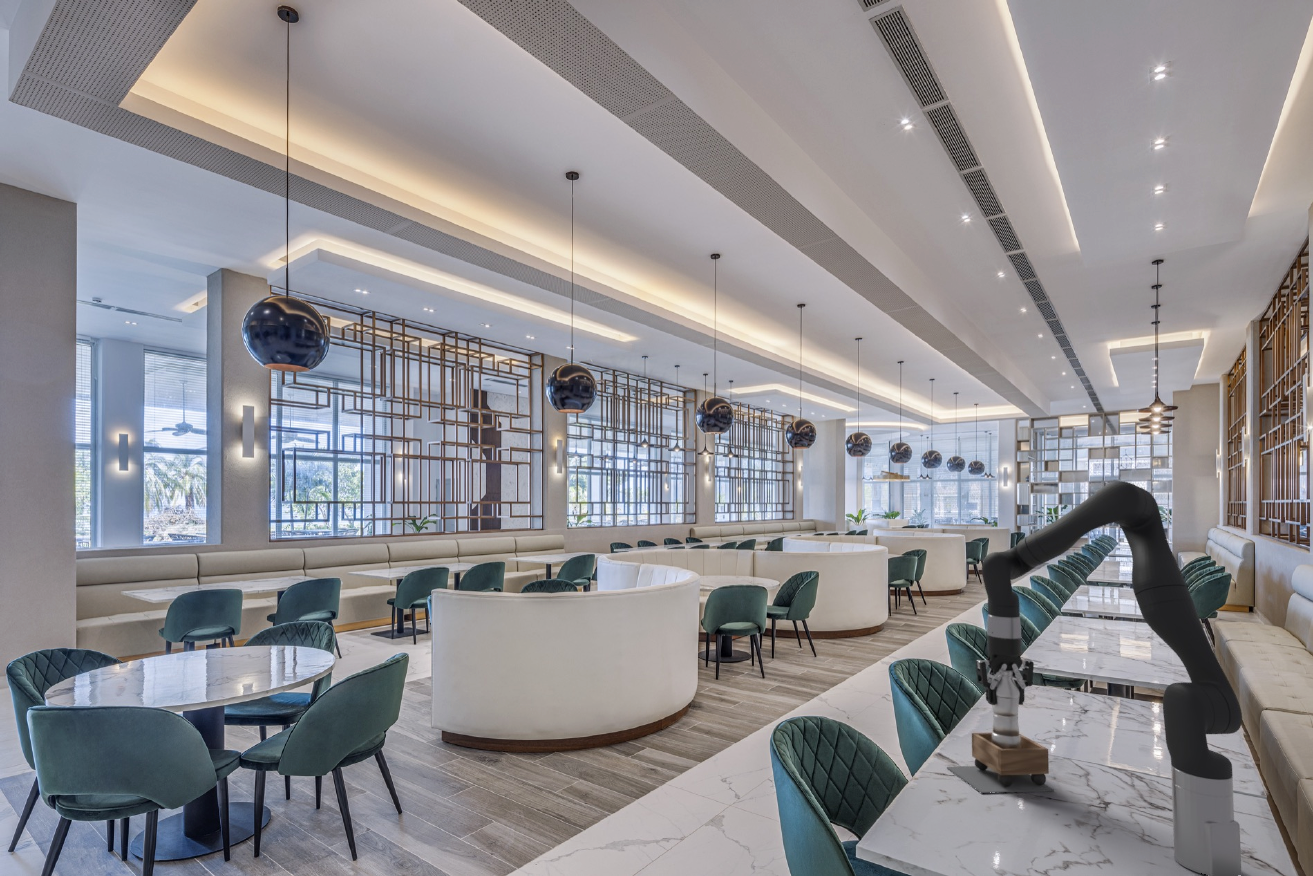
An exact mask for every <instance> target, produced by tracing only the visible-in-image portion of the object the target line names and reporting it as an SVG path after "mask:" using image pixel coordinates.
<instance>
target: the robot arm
mask: <svg viewBox="0 0 1313 876" xmlns="http://www.w3.org/2000/svg"><path fill="white" fill-rule="evenodd" d="M1162 520H1163V519H1162V516H1161V513H1160V508H1159V505H1158V502H1157V501H1156V498H1155V497H1154V496H1153V495H1152V493H1150V492H1149V491H1148V490H1146V489H1144V488H1143V487H1141V486H1138V485H1136V484H1134V483H1131V482H1129V481H1124V480H1117V481H1113V482H1109V483H1108V484H1106V485H1104V486H1103V487H1102V488H1099V489H1098V490H1097V491H1096V492H1095V493H1093V494H1092V495H1090V496H1089V497H1088V498H1087V499H1085V500H1084V501H1083V502H1082V503H1080V504H1079V505H1077V506H1075V507H1074V508H1073V509H1072V510H1070V511H1069V512H1067V513H1066V514H1064V515H1063V516H1062V517H1060V518H1058V519H1056V520H1055V521H1053V522H1052V523H1050V524H1048V525H1047V526H1045V527H1043V528H1041V529H1039V530H1037V531H1035V532H1033V533H1031V534H1029V535H1027V536H1025V537H1024V538H1022V539H1020V540H1019V541H1018V543H1017V545H1015V546H1013V547H1011V548H1009V549H1007V550H1004V551H998V552H997V551H995V552H991V553H989V554H987V555H985V557H984V558H983V561H982V564H981V575H982V579H983V583H984V584H983V585H984V589H985V592H986V595H987V621H986V635H987V636H986V641H987V644H986V645H987V649H986V650H987V653H988V657H987V658H986V659H984V660H983V659H982V660H981V659H976V660H975V671H976V681H977V684H978V685H979V686H982V687H985V700H986V702H987V703H988V704H989V705H991V706H992V705H995V704H996V697H995V689H994V688H995V686H996V684H997V682H999V681H1000V679H1001V677H1002V675H1003V673H1004V671H1011V670H1013V676H1014V678H1012V680H1013V681H1014V683H1015V684H1016V686H1017V687H1018V689H1019V692H1020V697H1019V705H1020V706H1021V705H1024V702H1025V689H1026V688H1027V687H1032V686H1033V683H1034V665H1035V664H1034V662H1033V661H1032V660H1030V659H1026V658H1024V659H1022V658H1021V655H1022V653H1023V652H1022V649H1023V648H1022V623H1021V617H1020V612H1021V611H1020V598H1019V595H1018V594H1017V592H1014V591H1013V587H1012V581H1013V580H1015V579H1017V578H1020V577H1022V576H1024V575H1026V574H1028V573H1029V572H1030V571H1032V570H1033V569H1035V568H1036V567H1038V566H1040V565H1043V564H1045V563H1047V562H1049V561H1051V560H1053V559H1055V558H1057V557H1060V556H1061V555H1063V554H1064V553H1066V552H1067V551H1069V550H1070V549H1071V548H1072V547H1073V546H1074V545H1075V544H1076V543H1077V542H1078V541H1079V540H1080V539H1081V538H1082V537H1084V536H1085V535H1086V534H1088V533H1090V532H1091V531H1094V530H1095V529H1097V528H1100V527H1103V526H1106V525H1110V524H1112V523H1114V524H1117V525H1118V526H1119V527H1120V528H1121V530H1122V532H1123V535H1124V536H1125V539H1126V541H1127V543H1128V546H1129V549H1130V552H1131V556H1132V566H1131V567H1132V570H1131V584H1132V591H1133V593H1134V596H1135V600H1136V602H1137V605H1138V607H1139V611H1140V614H1141V615H1142V618H1143V619H1144V621H1145V623H1146V624H1147V625H1148V626H1149V628H1150V629H1151V630H1152V631H1153V632H1154V633H1155V634H1156V635H1157V636H1158V637H1159V639H1161V640H1162V641H1163V642H1164V643H1165V644H1166V645H1167V646H1168V647H1169V648H1170V649H1171V650H1172V651H1173V652H1174V653H1175V655H1176V656H1178V658H1179V660H1180V661H1181V663H1182V664H1183V667H1184V668H1185V670H1186V672H1187V674H1188V676H1189V679H1190V682H1183V681H1182V682H1172V683H1170V684H1169V685H1168V686H1167V687H1166V688H1165V691H1164V693H1163V696H1162V712H1163V723H1164V732H1165V733H1164V734H1165V743H1166V744H1165V745H1166V747H1167V751H1168V753H1169V755H1170V768H1171V796H1172V797H1171V799H1172V800H1171V801H1172V802H1171V803H1172V827H1173V828H1172V831H1173V832H1172V833H1173V835H1172V836H1173V857H1174V859H1175V861H1176V862H1177V863H1178V864H1180V865H1181V866H1182V867H1184V868H1187V870H1190V871H1193V872H1195V873H1198V874H1201V873H1202V874H1201V875H1204V874H1206V875H1205V876H1207V875H1209V876H1238V875H1242V854H1241V853H1242V850H1241V829H1240V826H1241V825H1240V823H1239V822H1238V821H1236V820H1235V809H1234V807H1235V805H1234V802H1235V801H1234V780H1233V777H1234V776H1233V765H1232V762H1231V759H1229V758H1228V757H1227V756H1225V755H1224V754H1221V753H1219V752H1216V751H1213V750H1212V749H1209V746H1208V739H1207V735H1229V734H1234V733H1237V731H1239V730H1240V729H1241V726H1242V723H1243V712H1242V709H1241V704H1240V701H1239V699H1238V697H1237V695H1236V693H1235V690H1234V688H1233V687H1232V684H1231V683H1230V681H1229V679H1228V678H1227V676H1226V673H1225V672H1224V669H1223V668H1222V666H1221V663H1220V662H1219V660H1218V658H1217V656H1216V653H1215V652H1214V650H1213V647H1212V645H1211V643H1210V641H1209V639H1208V636H1207V634H1206V631H1205V629H1204V627H1203V624H1202V622H1201V620H1200V618H1199V617H1200V616H1199V615H1198V612H1197V609H1196V607H1195V603H1194V600H1193V598H1192V595H1191V593H1190V590H1189V588H1188V586H1187V583H1186V581H1185V579H1184V577H1183V575H1182V572H1181V570H1180V567H1179V565H1178V563H1177V560H1176V558H1175V555H1174V554H1173V552H1172V549H1171V547H1170V545H1169V542H1168V539H1167V535H1166V531H1165V527H1164V525H1163V524H1164V523H1163V521H1162ZM1020 668H1022V671H1021V672H1022V673H1021V672H1020ZM988 669H989V671H988V672H987V670H988Z"/></svg>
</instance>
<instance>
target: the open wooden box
mask: <svg viewBox="0 0 1313 876" xmlns="http://www.w3.org/2000/svg"><path fill="white" fill-rule="evenodd" d="M1019 735H1020V737H1021V743H1022V747H1021V748H1014V749H1001V748H1000V747H998V746H996V745H995V744H993V743H991V736H992V732H972V733H971V757H973V758H974V759H975V760H974V766H976V767H977V768H979V769H980V770H986V769H987V768H988V767H989V768H991V769H992V770H994V771H995V772H997V773H998V781H999V783H1001V784H1002V785H1004V786H1010V785H1011V784H1012V782H1013V778H1012V776H1011V775H1026V774H1029V775H1031V780H1032V781H1033V782H1034V783H1036V784H1037V785H1043V784H1046V780H1047V776H1046V775H1049V774H1050V773H1049V771H1050V767H1049V763H1050V762H1049V761H1050V760H1049V749H1048V748H1047V747H1046V746H1043V745H1042V744H1040V743H1038V742H1036V741H1034V740H1032V739H1030V738H1028V737H1026V736H1025V735H1024V734H1022V733H1019Z"/></svg>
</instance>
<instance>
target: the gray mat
mask: <svg viewBox="0 0 1313 876" xmlns="http://www.w3.org/2000/svg"><path fill="white" fill-rule="evenodd" d="M946 769H947V770H948V771H949V770H950V771H949V772H951V773H952V772H953V773H952V774H954V775H955V774H956V775H957V776H956V775H955V776H956V777H958V778H959V777H960V778H961V780H962V779H963V780H964V781H966V782H967V783H969V784H970V785H971V786H973V787H974V788H976V790H975V791H977V790H978V791H979V792H981V793H990V792H991V793H992V792H995V794H1001V793H1000V792H1023V793H1046V792H1047V793H1048V792H1055V789H1053V787H1051V786H1049V785H1048V784H1046V783H1044V784H1043V785H1037V784H1036V783H1034V782H1033V781H1032V780H1031V774H1026V775H1011V776H1012V778H1013V782H1012V784H1011V785H1010V786H1004V785H1002V784H1001V783H999V781H998V773H997V772H995V771H994V770H992V769H991V768H989V767H988V768H987V769H986V770H980V769H979V768H977V767H976V766H975V765H971V766H970V765H969V766H965V765H964V766H947V767H946ZM960 778H959V779H960ZM963 780H962V781H963ZM964 781H963V782H964ZM966 782H965V783H966ZM967 783H966V784H967ZM970 785H969V786H970ZM971 786H970V787H971ZM973 787H972V788H973ZM974 788H973V789H974ZM978 791H977V792H978ZM979 792H978V793H979ZM997 792H999V793H997ZM981 793H980V794H981Z"/></svg>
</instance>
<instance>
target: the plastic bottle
mask: <svg viewBox="0 0 1313 876" xmlns="http://www.w3.org/2000/svg"><path fill="white" fill-rule="evenodd" d="M1012 678H1014V676H1013V670H1011V671H1004V673H1003V675H1002V677H1001V679H1000V681H999V682H997V684H996V686H995V688H994V689H995V697H996V704H995V705H991V706H992V712H993V713H992V717H993V720H992V731H991V733H992V736H991V743H993V744H995V745H996V746H998V747H1000V748H1001V749H1014V748H1021V747H1022V743H1021V737H1020V735H1019V734H1020V726H1019V716H1018V715H1019V697H1020V692H1019V689H1018V687H1017V686H1016V684H1015V683H1014V681H1013V680H1012Z"/></svg>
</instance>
